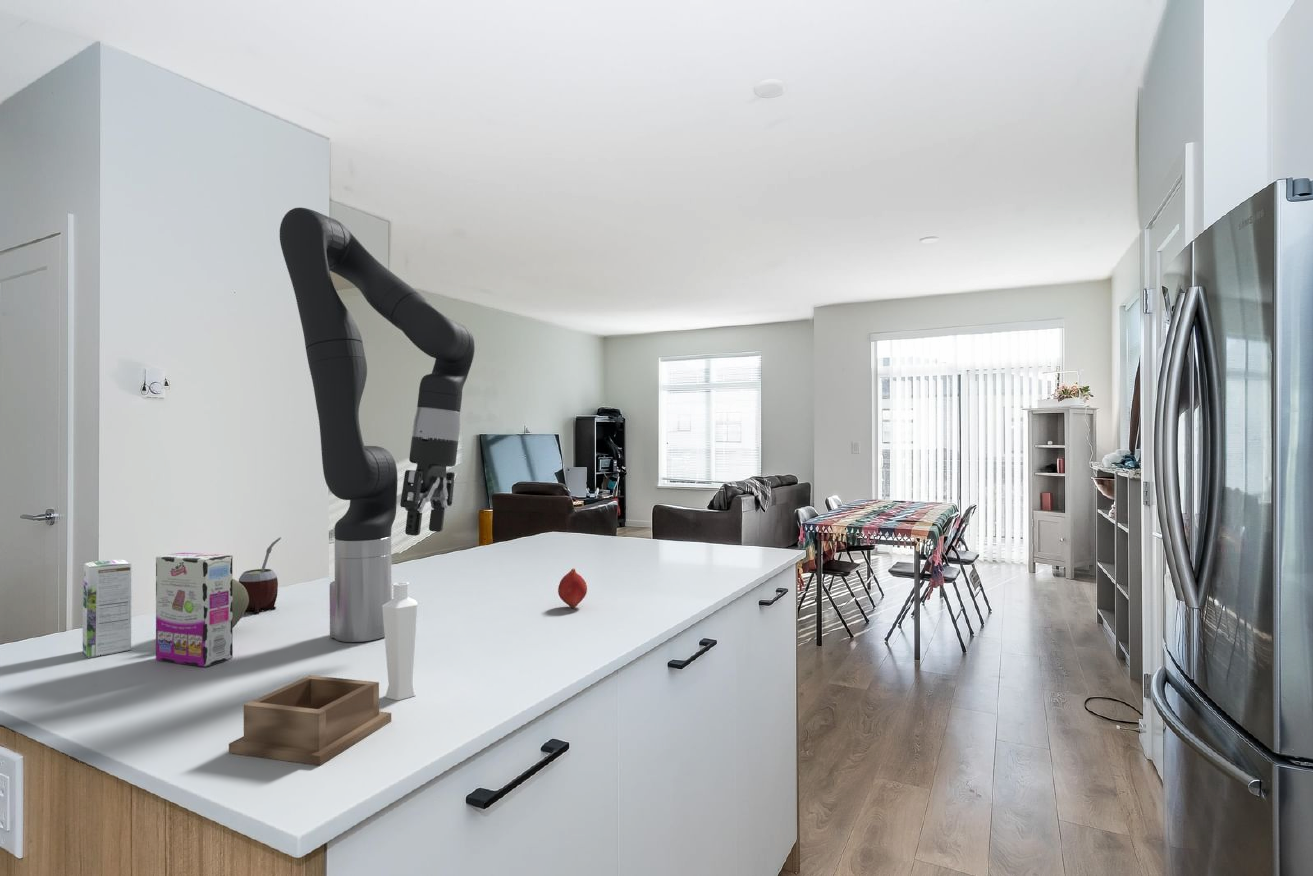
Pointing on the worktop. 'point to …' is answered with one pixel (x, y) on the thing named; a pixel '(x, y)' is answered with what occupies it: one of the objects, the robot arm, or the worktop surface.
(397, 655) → the perfume bottle
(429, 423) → the robot arm
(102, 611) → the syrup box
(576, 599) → the onion
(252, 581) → the mate gourd
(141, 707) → the worktop surface
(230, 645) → the candy bar box
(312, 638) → the worktop surface
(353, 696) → the holder
